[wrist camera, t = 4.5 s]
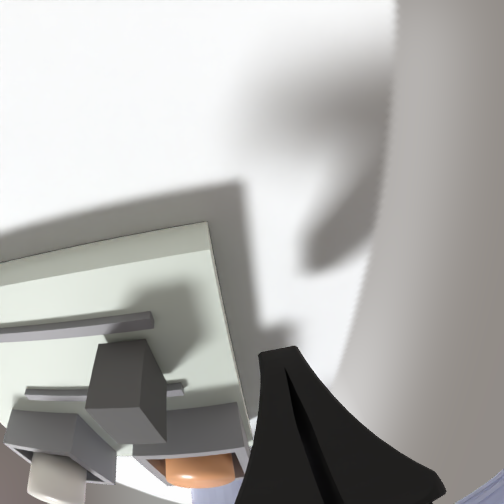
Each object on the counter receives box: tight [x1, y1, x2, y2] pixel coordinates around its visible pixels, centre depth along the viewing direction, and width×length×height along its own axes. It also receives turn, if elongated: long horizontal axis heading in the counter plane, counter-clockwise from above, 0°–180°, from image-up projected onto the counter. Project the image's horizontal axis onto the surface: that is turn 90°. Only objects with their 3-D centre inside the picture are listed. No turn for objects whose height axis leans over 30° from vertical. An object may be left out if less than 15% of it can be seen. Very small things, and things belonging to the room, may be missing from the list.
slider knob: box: [85, 339, 167, 444], centre depth 10 cm, size 3×2×3 cm
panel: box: [0, 222, 253, 486], centre depth 13 cm, size 15×18×5 cm
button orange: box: [165, 453, 235, 488], centre depth 14 cm, size 4×4×3 cm
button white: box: [27, 451, 87, 504], centre depth 12 cm, size 4×4×3 cm
